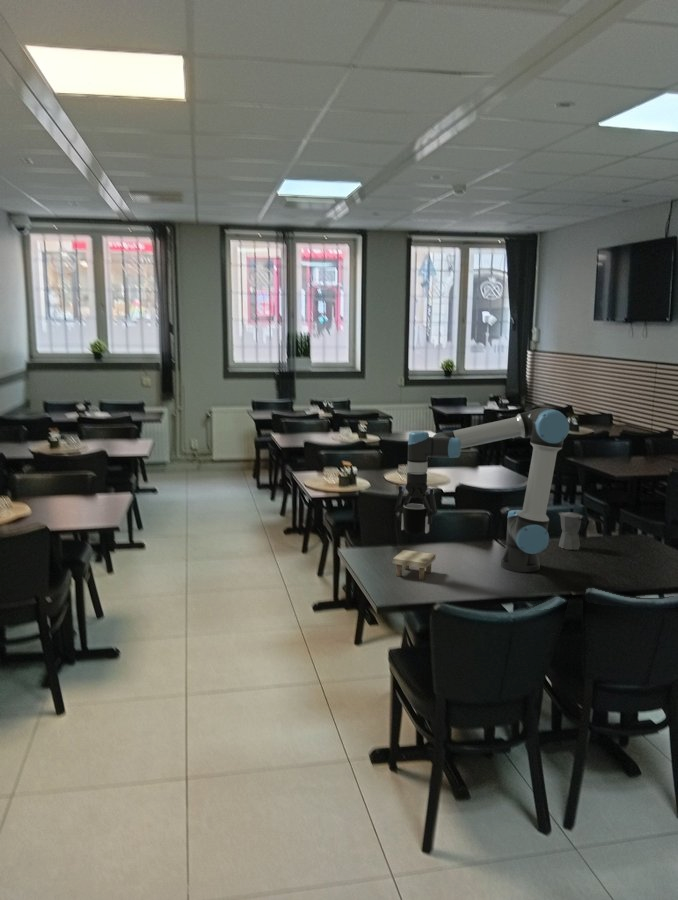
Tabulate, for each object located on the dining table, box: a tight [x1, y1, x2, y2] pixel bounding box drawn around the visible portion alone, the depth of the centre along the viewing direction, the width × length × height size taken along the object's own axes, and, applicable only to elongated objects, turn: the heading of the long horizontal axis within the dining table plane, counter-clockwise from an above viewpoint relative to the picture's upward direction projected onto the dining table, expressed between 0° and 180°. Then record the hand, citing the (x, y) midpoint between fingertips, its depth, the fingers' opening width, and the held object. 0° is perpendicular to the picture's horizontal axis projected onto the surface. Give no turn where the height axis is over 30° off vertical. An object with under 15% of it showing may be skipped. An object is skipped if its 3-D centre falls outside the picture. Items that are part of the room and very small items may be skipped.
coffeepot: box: [557, 507, 590, 550], centre depth 309 cm, size 15×9×18 cm, turn 37°
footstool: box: [392, 549, 437, 581], centre depth 271 cm, size 13×13×7 cm
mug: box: [403, 503, 427, 535], centre depth 269 cm, size 12×9×10 cm
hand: (415, 530), depth 269 cm, fingers closed on mug, 9 cm apart
